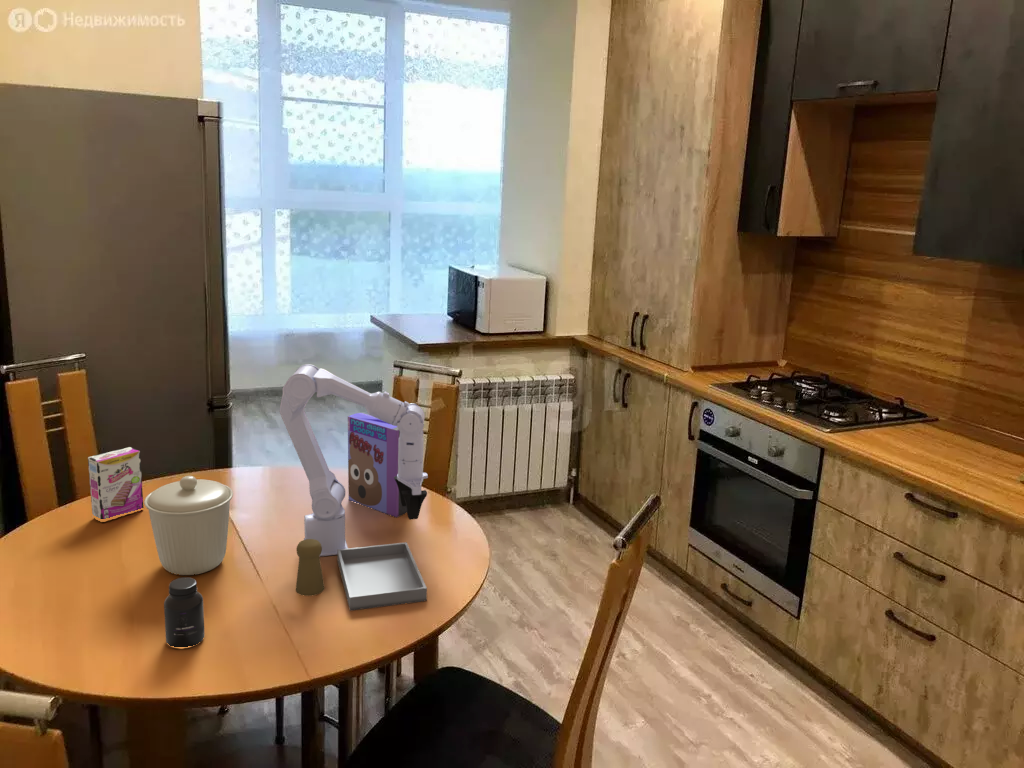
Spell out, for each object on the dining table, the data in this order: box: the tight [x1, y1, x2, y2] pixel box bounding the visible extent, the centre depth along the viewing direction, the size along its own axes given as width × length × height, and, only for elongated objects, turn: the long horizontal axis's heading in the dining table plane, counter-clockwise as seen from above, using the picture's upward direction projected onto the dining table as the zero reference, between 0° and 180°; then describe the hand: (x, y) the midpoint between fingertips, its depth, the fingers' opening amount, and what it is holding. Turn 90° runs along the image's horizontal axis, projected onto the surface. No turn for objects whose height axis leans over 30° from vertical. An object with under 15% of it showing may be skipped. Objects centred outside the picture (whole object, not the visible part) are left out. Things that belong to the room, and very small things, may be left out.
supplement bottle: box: [163, 576, 206, 647], centre depth 152 cm, size 7×7×12 cm
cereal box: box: [347, 412, 407, 519], centre depth 214 cm, size 17×5×24 cm, turn 55°
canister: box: [143, 475, 234, 576], centre depth 179 cm, size 18×18×21 cm
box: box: [336, 542, 428, 612], centre depth 178 cm, size 16×22×3 cm
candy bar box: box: [87, 446, 144, 519], centre depth 203 cm, size 11×5×16 cm, turn 144°
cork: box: [295, 539, 325, 597], centre depth 172 cm, size 6×6×11 cm
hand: (409, 512), depth 190 cm, fingers open, 7 cm apart
